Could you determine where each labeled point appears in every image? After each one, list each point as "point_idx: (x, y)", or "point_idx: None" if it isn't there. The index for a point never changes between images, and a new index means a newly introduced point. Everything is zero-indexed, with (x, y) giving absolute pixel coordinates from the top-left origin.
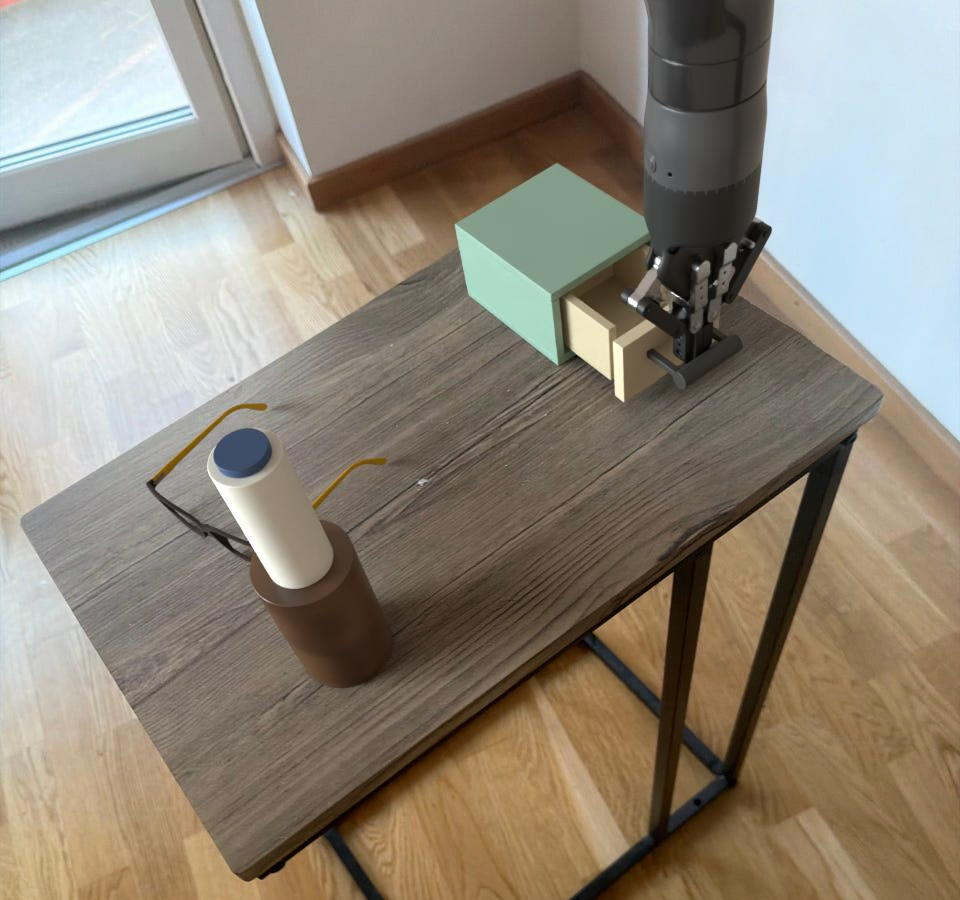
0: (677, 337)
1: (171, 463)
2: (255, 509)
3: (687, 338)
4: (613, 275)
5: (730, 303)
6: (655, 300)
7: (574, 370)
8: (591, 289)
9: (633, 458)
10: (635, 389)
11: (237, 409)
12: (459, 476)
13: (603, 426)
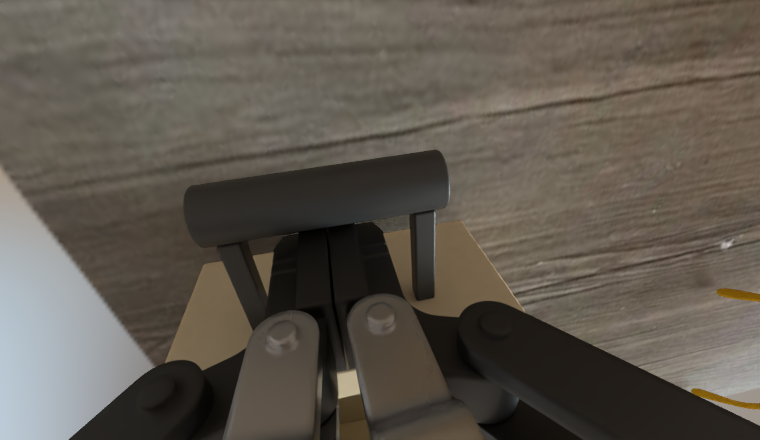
0: (493, 305)
1: None
2: None
3: (394, 287)
4: None
5: (178, 361)
6: None
7: None
8: (349, 421)
9: (529, 96)
10: (437, 233)
11: (753, 404)
12: (699, 228)
13: (502, 198)
